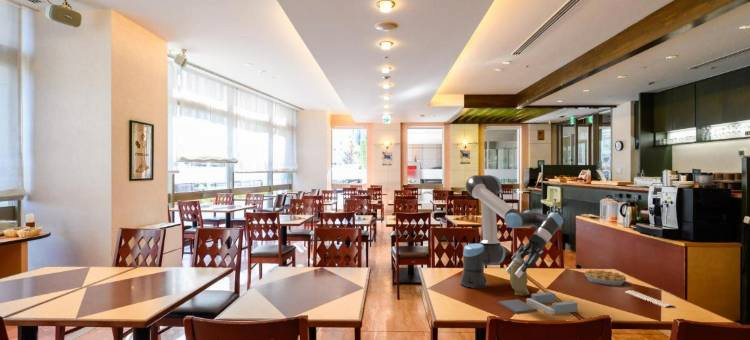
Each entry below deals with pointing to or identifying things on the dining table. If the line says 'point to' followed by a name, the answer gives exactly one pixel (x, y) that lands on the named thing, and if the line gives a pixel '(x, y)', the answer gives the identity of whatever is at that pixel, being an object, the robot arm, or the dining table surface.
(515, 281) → the squeeze bottle
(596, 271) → the pie
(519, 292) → the chocolate bunny
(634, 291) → the newspaper
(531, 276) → the dining table surface
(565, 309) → the grey u-shaped frame
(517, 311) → the rubber mat
